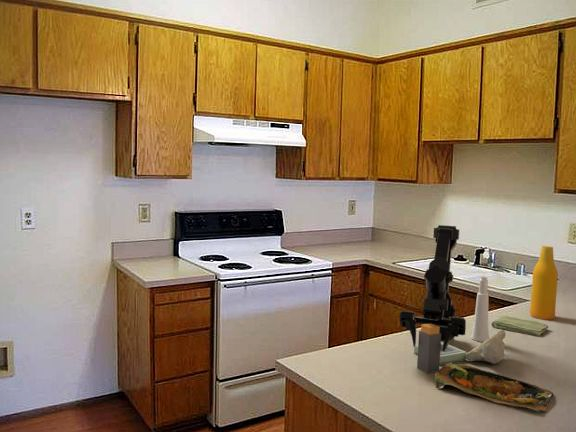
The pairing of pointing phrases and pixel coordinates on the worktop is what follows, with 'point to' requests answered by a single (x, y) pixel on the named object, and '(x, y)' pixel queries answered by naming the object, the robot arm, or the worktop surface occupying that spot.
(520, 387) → the prepared meal
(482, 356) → the cheese
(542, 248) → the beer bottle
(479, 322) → the cosmetic bottle
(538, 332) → the washcloth
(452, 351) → the box
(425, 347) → the plug
